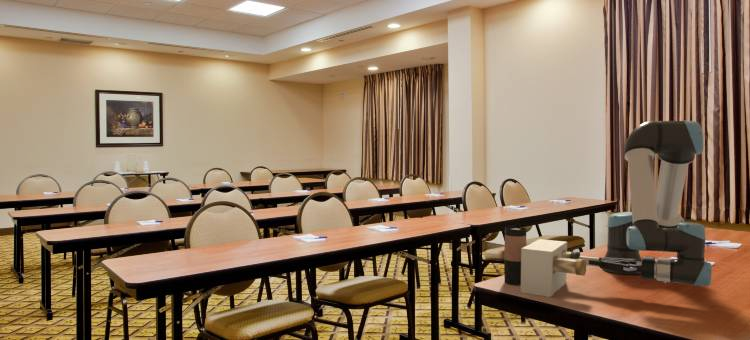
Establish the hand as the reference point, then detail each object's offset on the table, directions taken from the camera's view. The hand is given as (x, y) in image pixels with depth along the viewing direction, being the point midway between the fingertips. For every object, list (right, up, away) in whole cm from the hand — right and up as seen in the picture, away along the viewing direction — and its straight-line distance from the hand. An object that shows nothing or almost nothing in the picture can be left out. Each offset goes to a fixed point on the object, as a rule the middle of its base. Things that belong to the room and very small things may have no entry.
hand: (579, 260), depth 186 cm
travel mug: (-21, -10, +7) cm, 24 cm away
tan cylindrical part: (-6, -2, +4) cm, 7 cm away
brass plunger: (-9, -3, -8) cm, 12 cm away
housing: (-12, -10, +1) cm, 16 cm away
